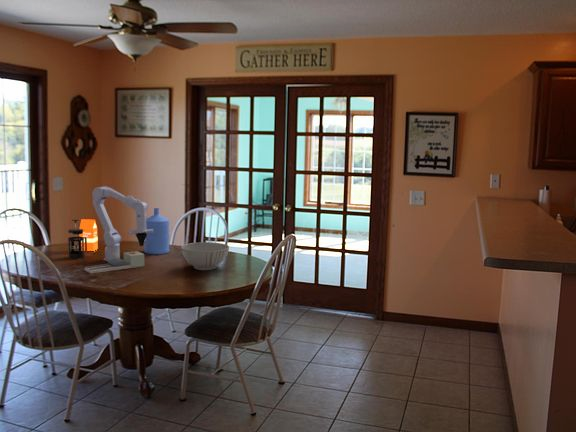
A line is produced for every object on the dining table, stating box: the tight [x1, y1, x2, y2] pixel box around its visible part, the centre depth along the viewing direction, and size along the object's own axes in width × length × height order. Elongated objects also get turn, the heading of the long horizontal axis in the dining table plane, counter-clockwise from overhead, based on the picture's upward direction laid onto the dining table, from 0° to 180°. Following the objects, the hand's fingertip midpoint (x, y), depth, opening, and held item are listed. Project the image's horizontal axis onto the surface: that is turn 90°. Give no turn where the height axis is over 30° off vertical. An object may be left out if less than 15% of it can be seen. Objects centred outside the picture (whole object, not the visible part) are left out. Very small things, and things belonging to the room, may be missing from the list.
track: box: [84, 250, 145, 274], centre depth 313 cm, size 10×30×7 cm, turn 130°
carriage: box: [107, 252, 124, 265], centre depth 313 cm, size 7×6×6 cm
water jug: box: [143, 207, 170, 255], centre depth 356 cm, size 16×16×28 cm
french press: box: [67, 218, 88, 260], centre depth 336 cm, size 12×9×23 cm
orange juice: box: [78, 218, 99, 252], centre depth 356 cm, size 8×9×20 cm
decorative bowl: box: [180, 241, 230, 271], centre depth 319 cm, size 27×27×12 cm
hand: (141, 245), depth 327 cm, fingers closed
